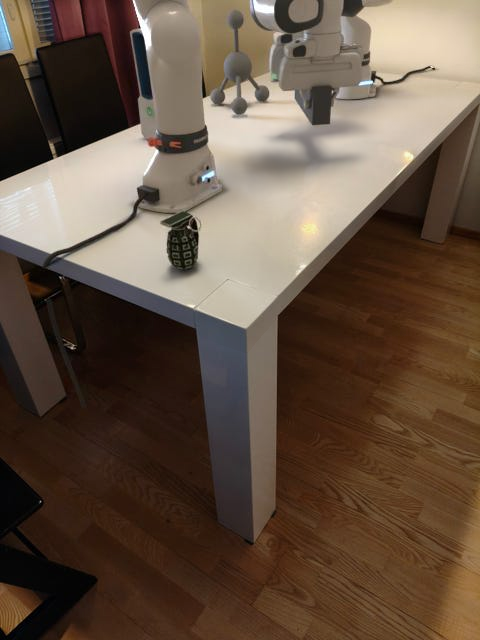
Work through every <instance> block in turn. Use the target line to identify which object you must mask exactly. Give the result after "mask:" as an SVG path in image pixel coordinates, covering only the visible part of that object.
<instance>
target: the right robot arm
mask: <svg viewBox="0 0 480 640" xmlns="http://www.w3.org/2000/svg"><path fill="white" fill-rule="evenodd" d="M393 1H394V0H344V2H343V11H342V14H341V28H342V31H341V44H354V43H358V44H359V45H361V46H362V47H363V49H364V58H363V61H362V62H361V64H362V80H361V83H360V84H359V85H358V86H353V87H340V89H339V93H338V95H337V97H336V98H335V99H340V100H360V99H366V98H374V97H376V94H377V84H375V82H376V80H378V81H379V82H380V84H382V85H392V84H397V83H400V82H403V81H404V80H405V79H406V78H407V77H408V76H409V75H412V74H415V73H416V74H417V73H420V72H421V73H422V72H423V71H427V70H429V69H431V70H432V71H435V70H436V68H435V66H433V67H434V68H431V67H430V66H431V65H427V66H425V67H423V68H420V69H415V70H411V71H408V72H406V74H405V75H403V76H402V77H401V78H399V79H396V80H395V79H394V80H391V81H384V79H383V77H380V76H378V75H377V70H372V68H371V65H370V64H371V51H370V47H371V39H372V38H371V37H372V28H371V25H370V24H369V23H368V22H367V21H366V20H364V19H362V18H361V17H360V16H358V14H360V12H362V11H363V9H364V8H377V7H382V6H386V5H389V4H391V3H392V2H393ZM272 37H273V38H272V39H273V42H274V43H273V44H272V45H271V47H270V51H269V58H268V59H269V60H268V70H269V72H270V74H271V73H272V74H279V71H280V64H281V61H282V59H283V57H284V56H286V55H285V53H284V46H285V45H286V44H288V43H290V42H292V41H295V40H297V39H299V38H302V37H303V31H301V32H298V33H295V34H285V33H280V32H277V31H274V33H273V36H272ZM359 48H360V47H359ZM332 94H333V90H332Z"/></svg>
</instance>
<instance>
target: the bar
mask: <svg viewBox="0 0 480 640" xmlns="http://www.w3.org/2000/svg"><path fill="white" fill-rule="evenodd" d="M304 95H305V97H306V99H307V100H310V101H311V104H310V106H311V107H310V108H307V109H305V108H304V100H303V98H302V96H301V94H300V90H294V100H295V102H296V103H297V105H298V106H299V108H300V110H301V111H302V112H303V114H304V115H305V117H306V118H307V120H308V122H309V123H310V124H311V126H323V125H330V124H331V114H332V107H331V100H332V87H331V86H318V87H312V89H309V90H307V94H304Z"/></svg>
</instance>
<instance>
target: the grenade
mask: <svg viewBox="0 0 480 640" xmlns="http://www.w3.org/2000/svg"><path fill="white" fill-rule="evenodd" d="M198 222H199V226H198ZM159 224H160V225H162V226H164V227H166V228H169V230H168V231H167V236H166V254H167V259H168V261H169V263H170V265H171V266H172V267H174V268H176V269H178V270H181V271H186V270H189V269H192V267H194V266H195V265H196V264H197V262H198V261H197V260H198V259H199V243H200V241H199V240H200V233H199V232H200V231H201V228H202V221H201V220H200V219H199V218H198V217H197V216H194V215H193V214H192V213H189V212H187V211H185V212H184V211H181V212H179V213H174V214H172V215H170V216H169V217H166V218H165V219H162V220H160V222H159ZM198 227H199V228H198Z"/></svg>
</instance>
